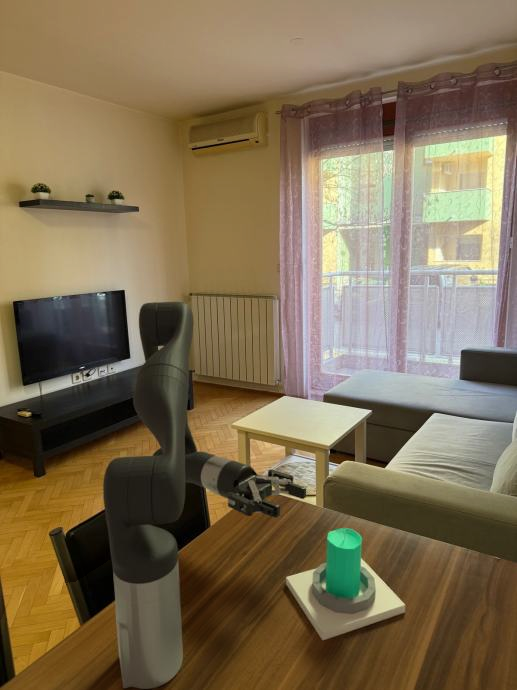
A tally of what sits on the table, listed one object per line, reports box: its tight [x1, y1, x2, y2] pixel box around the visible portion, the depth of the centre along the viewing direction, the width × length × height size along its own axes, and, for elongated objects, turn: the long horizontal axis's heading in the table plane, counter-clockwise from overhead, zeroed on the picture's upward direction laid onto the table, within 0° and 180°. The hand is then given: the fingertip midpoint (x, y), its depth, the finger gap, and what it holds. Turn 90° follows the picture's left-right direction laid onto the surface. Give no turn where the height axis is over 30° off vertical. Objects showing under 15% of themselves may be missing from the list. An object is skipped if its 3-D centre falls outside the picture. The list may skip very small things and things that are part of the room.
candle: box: [325, 527, 363, 598], centre depth 84 cm, size 6×6×12 cm
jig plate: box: [285, 557, 406, 641], centre depth 85 cm, size 16×14×4 cm
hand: (292, 502), depth 89 cm, fingers open, 8 cm apart
